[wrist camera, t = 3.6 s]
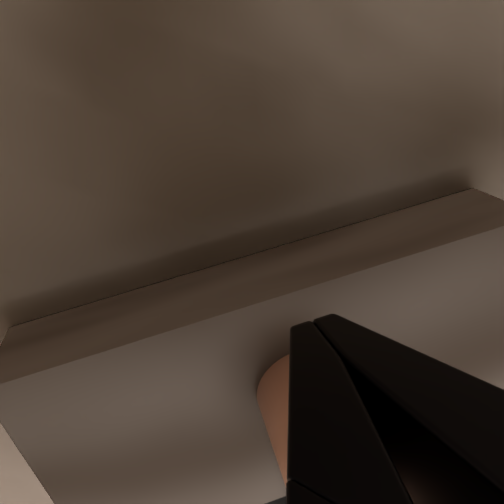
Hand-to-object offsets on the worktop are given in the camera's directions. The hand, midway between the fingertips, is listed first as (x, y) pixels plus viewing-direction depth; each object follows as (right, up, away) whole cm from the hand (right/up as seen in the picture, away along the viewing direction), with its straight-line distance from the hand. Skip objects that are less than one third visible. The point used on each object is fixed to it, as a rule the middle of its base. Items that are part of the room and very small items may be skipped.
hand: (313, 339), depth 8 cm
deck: (+3, -15, +13) cm, 20 cm away
